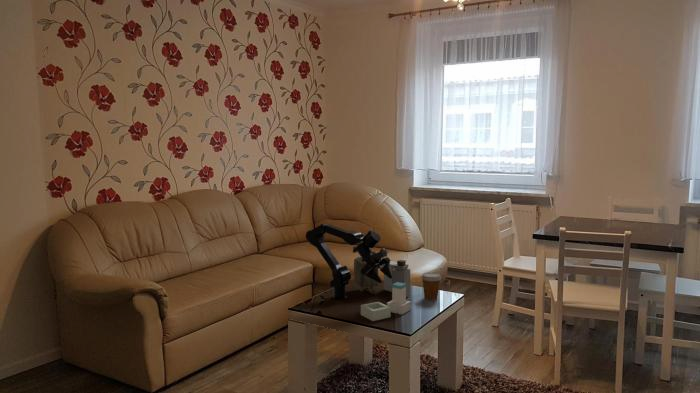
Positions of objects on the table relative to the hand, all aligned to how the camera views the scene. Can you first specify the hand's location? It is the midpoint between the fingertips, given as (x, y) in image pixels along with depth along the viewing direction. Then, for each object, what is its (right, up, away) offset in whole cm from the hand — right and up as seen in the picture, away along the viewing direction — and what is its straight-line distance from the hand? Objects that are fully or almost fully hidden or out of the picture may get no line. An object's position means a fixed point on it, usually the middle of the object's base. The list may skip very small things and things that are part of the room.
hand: (386, 280), depth 236 cm
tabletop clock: (-9, -10, +27) cm, 30 cm away
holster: (+6, -13, -3) cm, 15 cm away
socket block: (-6, -14, -10) cm, 18 cm away
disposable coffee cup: (+23, -12, +16) cm, 30 cm away
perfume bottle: (+9, -11, +20) cm, 24 cm away
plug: (+6, -13, -3) cm, 15 cm away
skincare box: (+5, -10, +29) cm, 31 cm away
